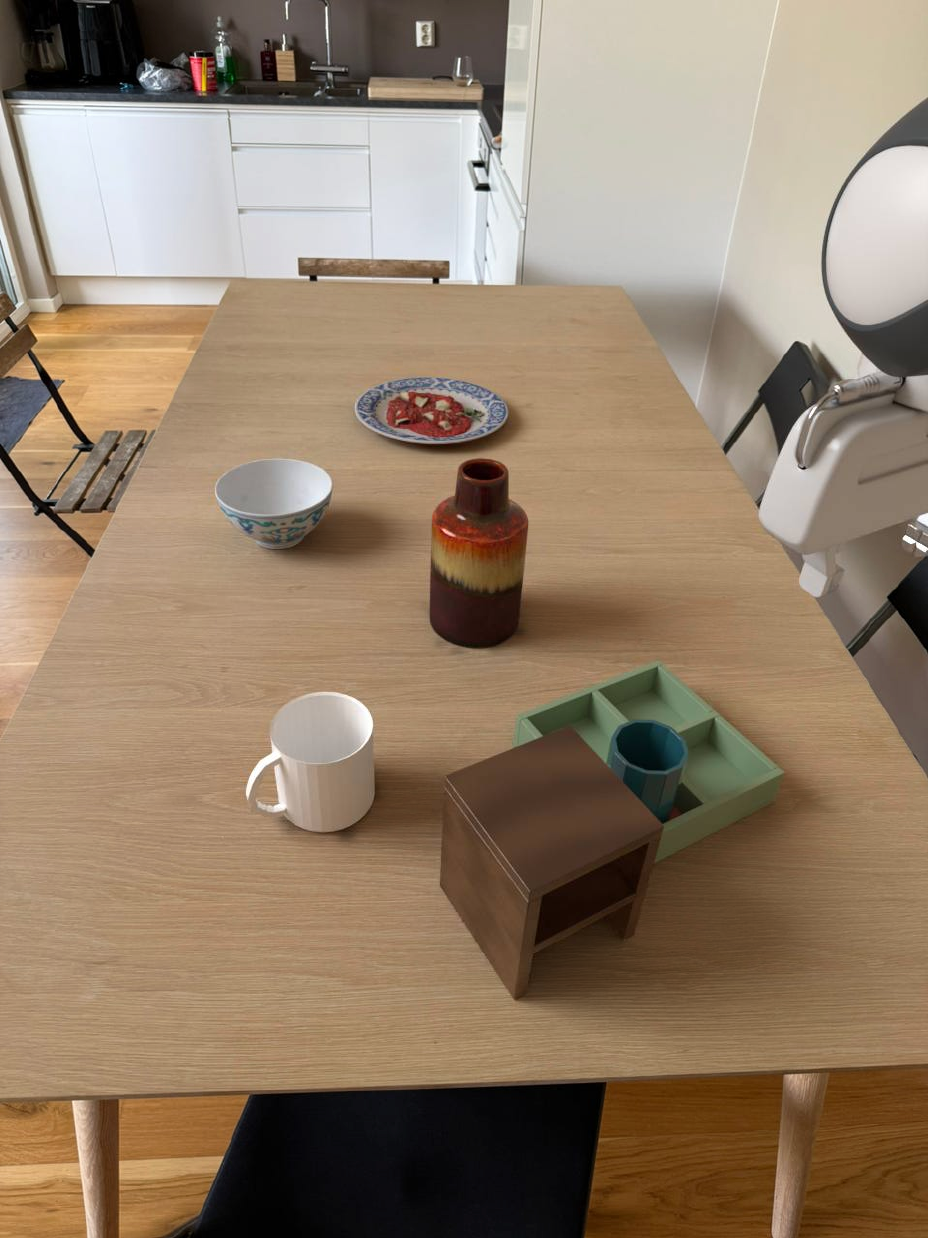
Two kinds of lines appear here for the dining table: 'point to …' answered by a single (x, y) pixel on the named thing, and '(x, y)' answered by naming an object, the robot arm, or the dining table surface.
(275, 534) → the chinaware
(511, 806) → the shelf
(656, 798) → the cup
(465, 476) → the vase
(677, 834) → the tray
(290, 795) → the mug
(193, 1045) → the dining table surface
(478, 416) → the ceramic plate
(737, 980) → the dining table surface
